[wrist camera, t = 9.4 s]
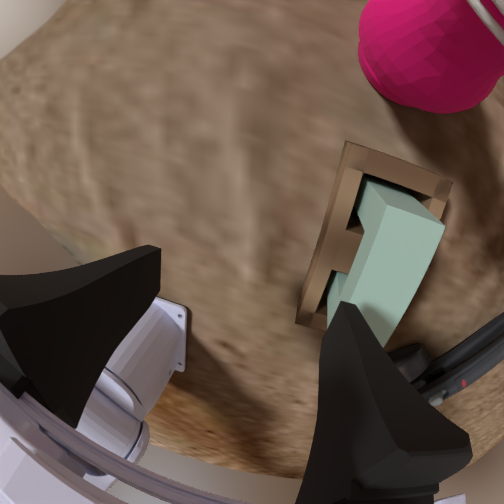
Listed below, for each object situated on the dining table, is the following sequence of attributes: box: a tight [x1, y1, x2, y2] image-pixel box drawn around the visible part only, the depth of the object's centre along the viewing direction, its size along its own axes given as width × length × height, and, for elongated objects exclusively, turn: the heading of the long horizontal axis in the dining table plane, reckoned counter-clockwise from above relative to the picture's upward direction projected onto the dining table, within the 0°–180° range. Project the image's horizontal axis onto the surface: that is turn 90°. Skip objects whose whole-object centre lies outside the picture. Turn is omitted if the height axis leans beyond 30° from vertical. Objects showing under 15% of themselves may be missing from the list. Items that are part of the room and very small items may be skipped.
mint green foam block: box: [327, 175, 446, 347], centre depth 15 cm, size 8×3×7 cm, turn 170°
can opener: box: [388, 313, 504, 406], centre depth 18 cm, size 18×7×6 cm, turn 124°
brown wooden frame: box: [295, 141, 453, 331], centre depth 17 cm, size 12×6×3 cm, turn 169°
